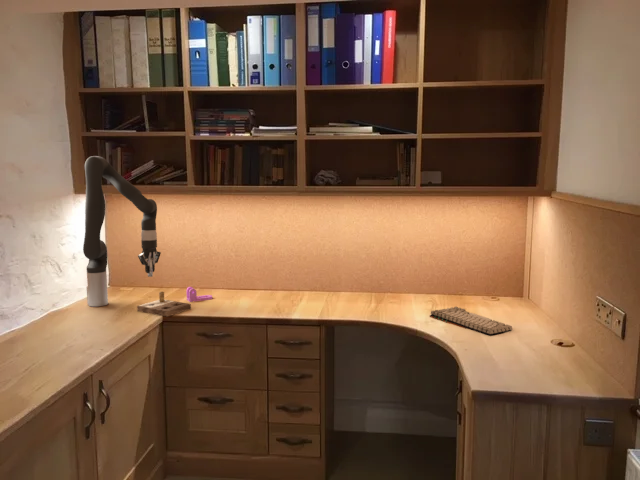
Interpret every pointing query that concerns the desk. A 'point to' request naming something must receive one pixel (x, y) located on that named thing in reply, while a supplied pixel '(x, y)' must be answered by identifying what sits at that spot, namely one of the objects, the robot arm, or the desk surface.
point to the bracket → (193, 295)
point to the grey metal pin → (150, 269)
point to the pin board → (163, 307)
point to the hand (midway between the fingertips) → (150, 272)
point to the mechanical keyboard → (470, 321)
